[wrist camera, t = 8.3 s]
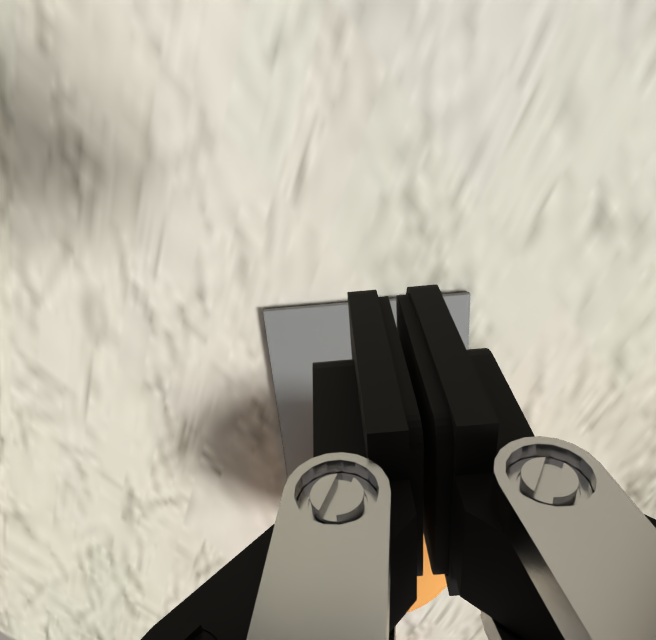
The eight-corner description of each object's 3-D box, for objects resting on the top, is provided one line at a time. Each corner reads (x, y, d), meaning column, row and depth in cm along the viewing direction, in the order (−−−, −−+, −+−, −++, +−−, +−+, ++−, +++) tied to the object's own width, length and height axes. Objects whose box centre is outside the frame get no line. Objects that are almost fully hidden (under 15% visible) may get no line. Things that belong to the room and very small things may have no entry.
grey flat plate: (263, 309, 19) (263, 311, 19) (468, 291, 19) (470, 294, 19) (289, 486, 23) (289, 489, 23) (462, 472, 23) (463, 475, 23)
